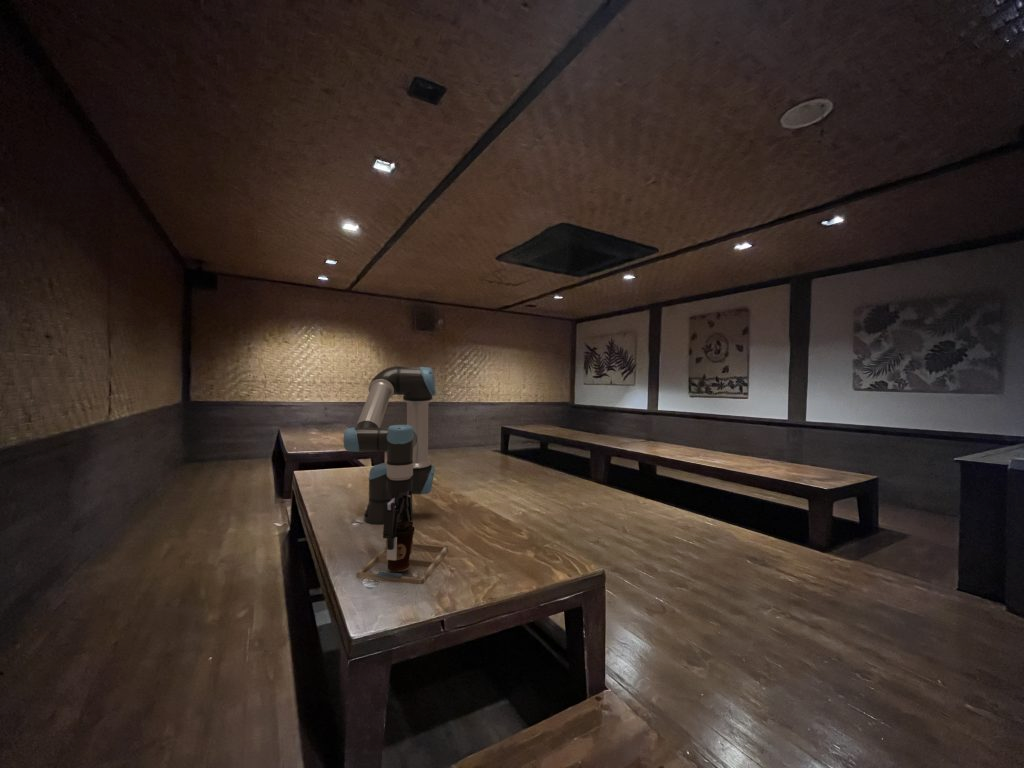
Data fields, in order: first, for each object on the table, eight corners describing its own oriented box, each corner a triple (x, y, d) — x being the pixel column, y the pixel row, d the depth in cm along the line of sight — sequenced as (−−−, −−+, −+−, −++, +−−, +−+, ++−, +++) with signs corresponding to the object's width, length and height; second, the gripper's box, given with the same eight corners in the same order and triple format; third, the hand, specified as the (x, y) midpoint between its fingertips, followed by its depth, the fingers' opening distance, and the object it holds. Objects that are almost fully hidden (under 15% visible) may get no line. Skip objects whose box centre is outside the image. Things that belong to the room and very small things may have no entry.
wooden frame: (392, 547, 136) (392, 539, 136) (447, 552, 133) (448, 544, 133) (355, 580, 113) (355, 571, 113) (421, 587, 110) (422, 578, 110)
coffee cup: (404, 576, 112) (406, 530, 112) (378, 572, 114) (379, 527, 114) (418, 563, 121) (419, 520, 121) (393, 559, 123) (394, 518, 123)
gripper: (402, 468, 129) (401, 538, 129) (370, 485, 108) (368, 568, 108) (424, 470, 127) (423, 539, 128) (396, 487, 107) (394, 570, 107)
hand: (398, 552), depth 118 cm, fingers closed on coffee cup, 8 cm apart
